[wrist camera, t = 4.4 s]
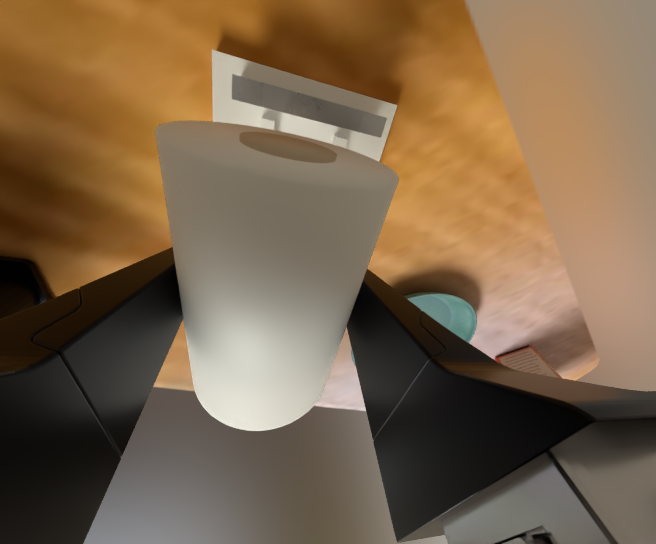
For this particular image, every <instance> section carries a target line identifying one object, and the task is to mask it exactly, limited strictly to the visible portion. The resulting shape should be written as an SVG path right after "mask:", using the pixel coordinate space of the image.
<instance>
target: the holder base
mask: <svg viewBox="0 0 656 544" xmlns="http://www.w3.org/2000/svg"><path fill="white" fill-rule="evenodd" d="M232 74H234V75H238V76H241V77H245V78H249V79H252V80H256V81H259V82H263V83H266V84H270V85H273V86H277V87H280V88H284V89H287V90H291V91H294V92H298V93H301V94H305V95H309V96H312V97H316V98H319V99H323V100H326V101H330V102H333V103H337V104H340V105H344V106H347V107H351V108H354V109H358V110H361V111H365V112H369V113H372V114H376V115H379V116H383V117H386V118H387V120H386V123H385V127H384V130H383V133H382V136H381V138H379V137H376V136H372V135H368V134H364V133H360V132H356V131H352V130H349V129H345V128H341V127H337V126H333V125H329V124H326V123H322V122H318V121H314V120H310V119H306V118H302V117H299V116H295V115H291V114H287V113H283V112H279V111H276V110H272V109H268V108H264V107H260V106H256V105H252V104H249V103H245V102H241V101H237V100H233V99H232ZM212 91H213V122H223V123H232V124H240V125H247V126H254V127H260V128H266V129H271V130H276V131H281V132H286V133H291V134H295V135H299V136H303V137H308V138H312V139H315V140H319V141H323V142H326V143H330V144H333V145H336V146H340V147H343V148H346V149H349V150H352V151H354V152H357V153H360V154H362V155H365V156H367V157H370V158H372V159H374V160H376V161H378V162H379V161H380V158H381V155H382V152H383V149H384V146H385V143H386V139H387V136H388V133H389V130H390V127H391V124H392V121H393V118H394V115H395V112H396V109H397V105H395V104H392V103H388V102H385V101H382V100H378V99H375V98H372V97H368V96H365V95H362V94H358V93H355V92H352V91H348V90H345V89H342V88H338V87H335V86H332V85H328V84H325V83H322V82H318V81H315V80H312V79H308V78H305V77H302V76H298V75H295V74H292V73H288V72H285V71H282V70H278V69H275V68H272V67H268V66H265V65H262V64H258V63H255V62H252V61H248V60H245V59H242V58H238V57H235V56H232V55H228V54H225V53H222V52H218V51H215V50H212Z"/></svg>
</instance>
